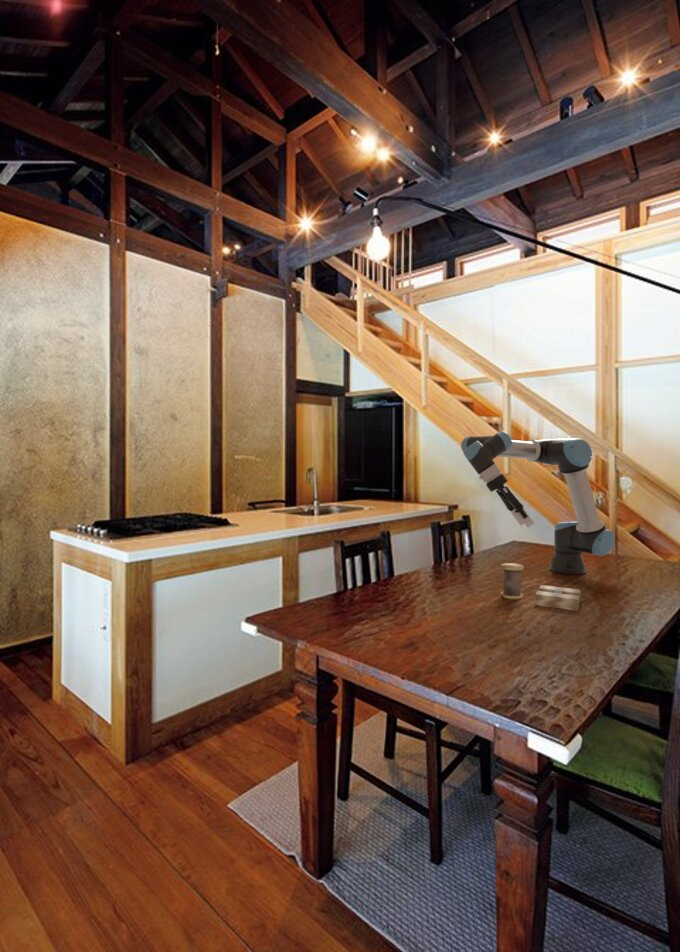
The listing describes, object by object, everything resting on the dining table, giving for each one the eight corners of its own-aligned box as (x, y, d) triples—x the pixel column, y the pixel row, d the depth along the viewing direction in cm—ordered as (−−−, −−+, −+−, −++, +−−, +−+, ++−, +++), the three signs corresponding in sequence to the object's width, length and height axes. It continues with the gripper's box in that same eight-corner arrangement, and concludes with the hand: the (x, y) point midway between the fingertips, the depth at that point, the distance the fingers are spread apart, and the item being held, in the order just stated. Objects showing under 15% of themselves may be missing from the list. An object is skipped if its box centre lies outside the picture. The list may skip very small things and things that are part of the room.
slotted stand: (535, 604, 182) (535, 594, 182) (540, 595, 194) (540, 584, 194) (577, 610, 175) (577, 599, 175) (580, 600, 187) (580, 589, 187)
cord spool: (496, 594, 194) (496, 564, 194) (511, 592, 198) (512, 562, 197) (512, 600, 187) (512, 568, 187) (527, 597, 191) (528, 566, 190)
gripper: (481, 484, 203) (512, 528, 200) (489, 482, 179) (525, 532, 176) (497, 474, 203) (528, 517, 200) (507, 470, 178) (543, 520, 175)
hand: (527, 524), depth 188 cm, fingers open, 13 cm apart
